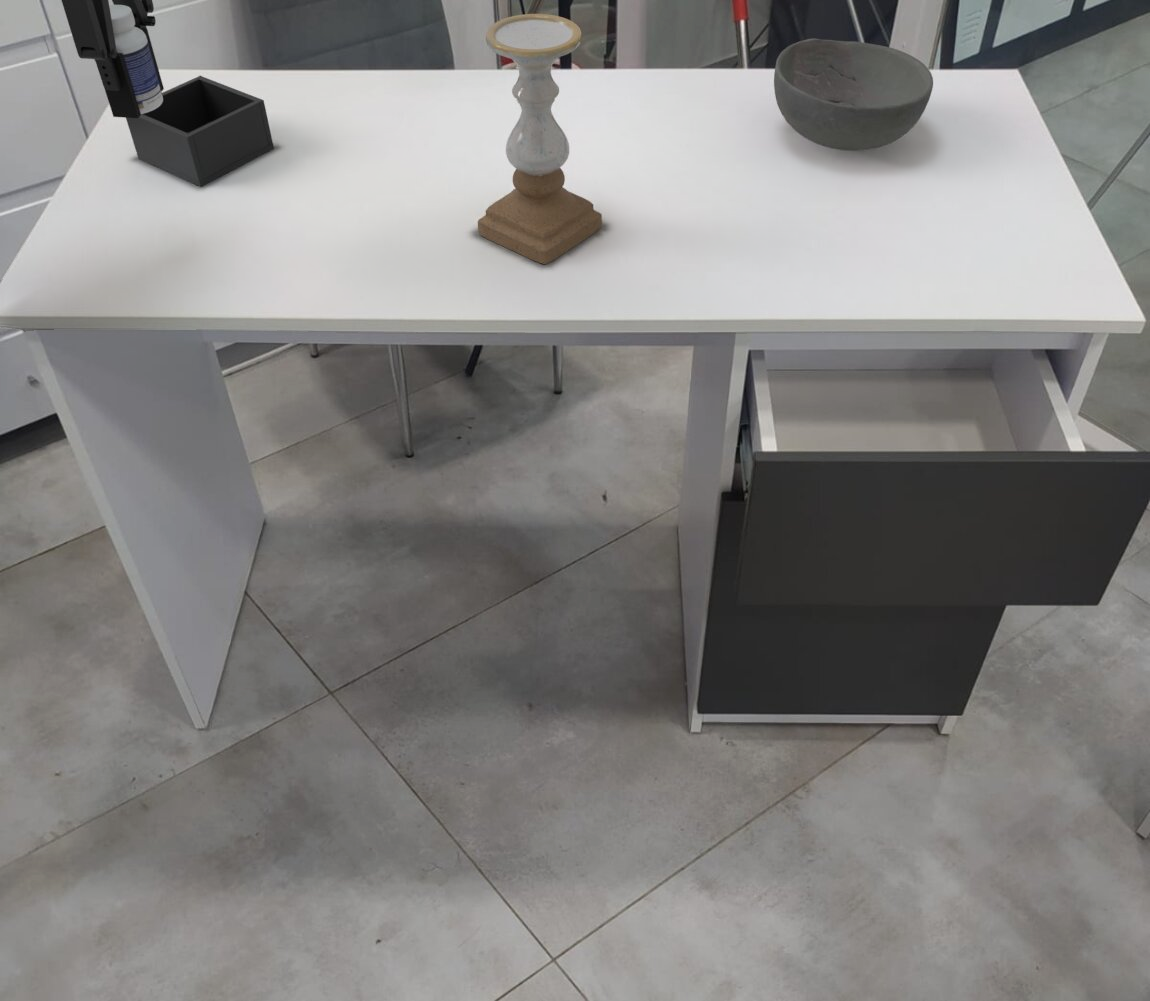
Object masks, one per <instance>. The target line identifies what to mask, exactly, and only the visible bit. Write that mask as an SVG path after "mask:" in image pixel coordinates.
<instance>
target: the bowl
mask: <svg viewBox="0 0 1150 1001" xmlns="http://www.w3.org/2000/svg"><path fill="white" fill-rule="evenodd" d="M773 74H774V75H773V89H774V96H775V100H776V104H777V107H778V110H779V111H780V113H781V115H782V117H783V119H784V120H785V121H786V122H787V124H788V125H789V126H790V127H791V128H792V129H793V130H794V131H795V132H796V133H797V134H799V135H800V136H802V138H804V139H806V140H808V141H810V142H812V143H813V144H817V145H819V146H822V147H824V148H828V149H833V150H836V151H837V150H838V151H845V152H847V151H848V152H849V151H850V152H856V151H868V150H869V151H870V150H874V149H877V148H881V147H884V146H887V145H889V144H892V143H894V142H896V141H897V140H899V139H901V138H902V137H904V136H905V135H906V134H908V133H909V132H910V130H912V129H913V128H914V127H915V126H916V125H917V123H918V122H919V121H920V119H921V117H922V115H923V114H924V112H925V110H926V108H927V105H928V104H929V101H930V98H931V96H932V92H933V88H934V77H933V75H932V72H931V71H930V69H929V68H928V67H927V66H926V65H925V63H924V62H922V61H921V60H919V59H918V58H916V57H915V56H913V55H910V54H909V53H906V52H904V51H901V50H899V49H896V48H893V47H890V46H885V45H880V44H874V43H870V42H861V41H853V40H851V41H848V40H847V41H845V40H833V39H819V38H808V39H804V40H800V41H798V42H795V43H792V44H790V45H788V46H787V47H785V49H783V50H782V51H781V52H780V53H779V55H778V56H777V58H776V62H775V66H774V73H773Z"/></svg>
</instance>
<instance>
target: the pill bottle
mask: <svg viewBox="0 0 1150 1001" xmlns="http://www.w3.org/2000/svg"><path fill="white" fill-rule="evenodd" d="M109 7H110V13H111V19H112V25H113V32H114V38H115V44H116V50H117V53H123V56H124V59H125V63H126V66H127V69H128V73H129V76H130V79H131V83H132V86H133V89H134V93H135V96H136V99H137V103H138V106H139V110H140V113H141V114H144V113H147V112H150V111H152V110H154V109H156V108H158V107H159V106H160V105H161V104H162V102H163V96H162V93H163V91H161V88H160V84H159V81H158V77H157V74H156V70H155V66H154V63H153V59H152V55H151V52H150V48H149V44H148V41H147V38H146V35H145V33H144V32H143V31H142V30H141V29H139V28H137V27H134V25H135V19H134V16H133V13H132V10H131V8H130V7H128V6H125V5H114V4H109Z"/></svg>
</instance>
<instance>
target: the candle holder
mask: <svg viewBox="0 0 1150 1001" xmlns="http://www.w3.org/2000/svg"><path fill="white" fill-rule="evenodd" d="M582 39H583V38H582V30H581V28H580V27H579V25H578V24H576V23H575V22H574V21H572V20H570V19H568V18H567V17H566V18H565V17H564V16H563V17H562V16H559V15H554V14H545V13H526V14H517V15H512V16H509V17H505V18H502V19H499V20H498V21H495V22H494V23H493V24H492V25H490V26H489V27H488V29H487V31H486V32H485V41H486V44H487V46H488V48H489V49H490V50H491V51H492V52H493V53H495V54H496V55H499V56H501V57H504V58H507V59H511V60H512V61H513V63H514V64H516V66H517V70H518V77H517V81H516V83H515V84H514V85H513V86H512V89H511V94H512V96H513V97H514V98H515V100H516V102H517V103H518V105H519V106H520V109H521V112H520V115H519V118H518V120H517V122H516V124H515V125H514V127H513V128H512V130H511V132H510V134H508V135H509V136H508V137H507V140H506V144H505V155H506V158H507V161H508V162H509V164H511V166H512V167H513V168H515V170H514V171H513V174H512V185H513V187H514V189H512V190H511V192H509V193H508V194H505V195H504V196H503V197H500V198H499V199H498V200H495V202H493V203H492V204H490V205H489V206H488V207H487V208H486V209H485V215H483V216H481V218H479V219H478V220H477V231H478V233H477V234H478V235H479V236H480V237H483V238H485V239H487V240H489V241H491V242H493V243H495V244H497V245H499V246H501V247H503V248H506V249H508V250H510V251H512V252H514V253H517V254H519V255H521V256H523V257H526V258H527V259H529V260H531V261H534V262H537V263H538V264H540V265H541V264H542V265H547V264H549V263H551V262H553V261H554V260H556V259H557V258H559V257H560V256H562V255H563V254H565V253H567V252H568V251H570V250H571V249H573V248H574V247H576V246H577V245H579V244H580V243H582V242H583V241H585V240H586V239H587V238H590V237H591V236H592V235H594V234H595V233H597V232H598V231H600V230H601V229H602V227H603V214H602V212H599V211H598V210H595V209H594V204H593V203H592V201H590V200H589V199H586V198H584V197H582V196H580V195H577V194H575V193H573V192H571V191H569V190H567V189H566V188H565V187H564V185H565V181H566V178H565V172H564V171H563V169H562V167H563V166H564V165H565V163H566V162H567V160H568V159H569V156H570V143H569V139H568V137H567V135H566V133H565V132H564V130H563V129H562V127H561V126H560V125H559V124H558V122H557V120H556V119H555V116H554V115H553V112H552V107H553V104H554V103H555V101H556V98H557V97H558V96H559V94H560V87H559V85H558V84H557V83H556V81H555V80H554V79H553V76H552V69H553V68H552V67H553V65H554V63H555V62H556V60H557V59H558V58H561V57H563V56H566V55H568V54H570V53H572V52H574V51H575V50H576V49H577V48H578V47H579V45H580V44H581V43H582V42H581V41H582Z"/></svg>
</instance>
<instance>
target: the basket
mask: <svg viewBox="0 0 1150 1001" xmlns="http://www.w3.org/2000/svg"><path fill="white" fill-rule="evenodd" d="M162 96H163V102H162V104H161V105H160V106H159V107H158V108H156V109H154V110H152V111H150V112H147V113H144V114H141V116H140V117H139V118H125V120H126V122H127V126H128V129H129V134H130V136H131V139H132V143H133V145H134V146H133V147H134V149H135V152H136V156H137V159H138V160H140V161H142V162H144V163H147V164H149V165H151V166H153V167H155V168H158V169H160V170H162V171H164V172H167V173H169V174H170V175H174V176H176V177H178V178H180V179H182V180H184V181H186V182H189V183H191V184H193V185H195V186H198V187H199V188H201V187H204V186H206V185H208V184H209V183H212V182H213V181H215V180H216V179H219V178H221V177H223V176H224V175H226V174H228V173H230V172H232V171H234V170H235V169H238V168H240V167H242V166H243V165H246V164H247V163H249V162H251V161H253V160H255V159H257V158H259V157H261V156H263V155H265V154H267V153H268V152H271V151H272V150H274V149H275V146H274V143H273V137H272V132H271V128H270V123H269V119H268V113H267V108H266V105H265V100H264V99H262V98H259V97H257V96H255V95H251V94H249V93H246V92H245V91H241V90H239V89H236V88H233V87H231V86H228V85H225V84H223V83H221V82H217V81H215V80H212V79H210V78H207V77H204V76H202V75H199V76H196V77H194V78H191V79H190V80H187V81H185V82H183V83H180V84H178V85H176V86H174V87H171V88H170V89H166V90H165V91H162Z"/></svg>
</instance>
